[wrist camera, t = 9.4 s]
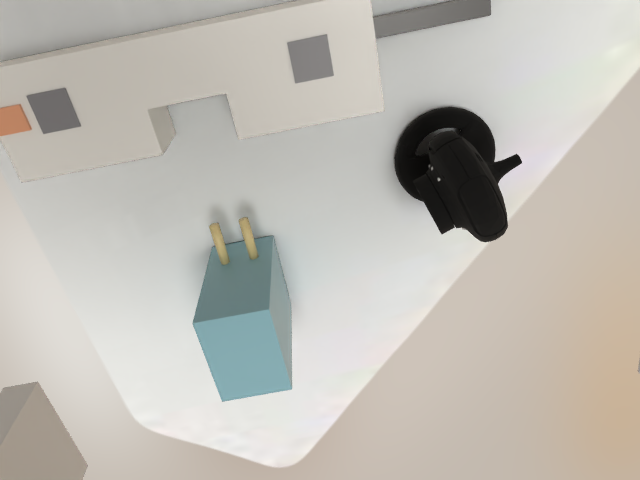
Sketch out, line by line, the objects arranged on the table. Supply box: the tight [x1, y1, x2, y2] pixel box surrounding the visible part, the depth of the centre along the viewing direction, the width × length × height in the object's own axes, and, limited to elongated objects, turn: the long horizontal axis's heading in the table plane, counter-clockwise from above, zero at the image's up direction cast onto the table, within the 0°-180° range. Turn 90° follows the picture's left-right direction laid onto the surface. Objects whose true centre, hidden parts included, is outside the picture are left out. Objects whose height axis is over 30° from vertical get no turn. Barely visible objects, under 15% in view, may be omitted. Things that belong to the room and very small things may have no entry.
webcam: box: [395, 107, 522, 242], centre depth 35 cm, size 8×8×10 cm
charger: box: [193, 217, 292, 402], centre depth 38 cm, size 10×5×10 cm, turn 10°
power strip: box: [0, 0, 491, 183], centre depth 34 cm, size 7×32×5 cm, turn 100°
